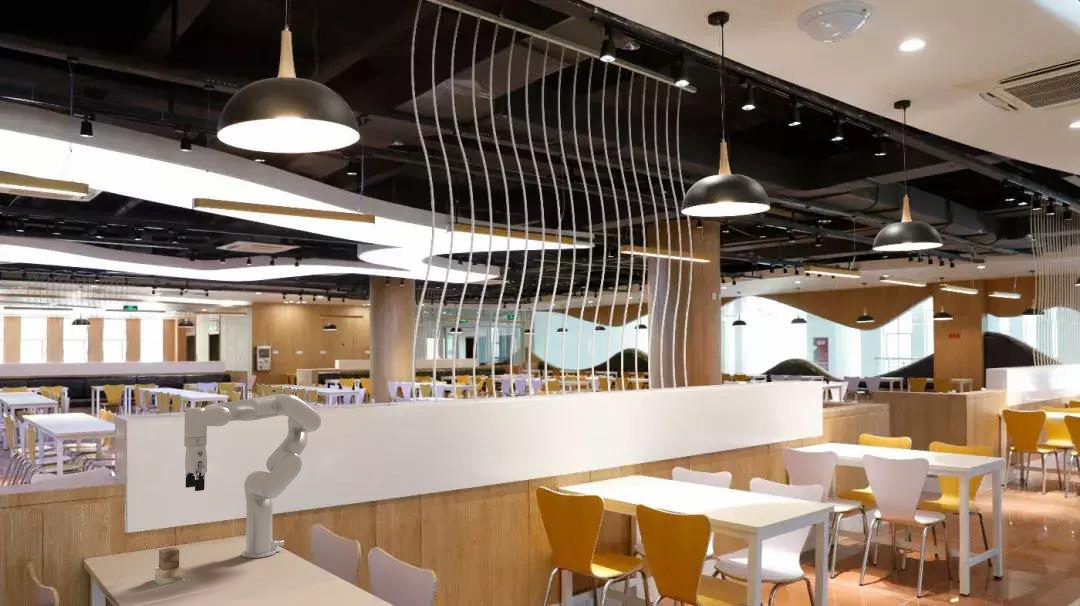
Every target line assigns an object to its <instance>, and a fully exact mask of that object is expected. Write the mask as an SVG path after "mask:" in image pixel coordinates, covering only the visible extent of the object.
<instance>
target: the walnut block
mask: <svg viewBox="0 0 1080 606" xmlns="http://www.w3.org/2000/svg"><path fill="white" fill-rule="evenodd" d="M179 565H180V548H177V547H175V546H174V547H169V548H168V547H167V548H162V549H159V550H158V567H159V568H160V569H162V570H163V571H164V570H169V569H175V568H179Z"/></svg>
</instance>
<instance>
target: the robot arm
mask: <svg viewBox="0 0 1080 606" xmlns="http://www.w3.org/2000/svg"><path fill="white" fill-rule="evenodd" d="M279 416H280V417H281V416H285V417H287V426H288V427H287V428H288V431H287V436H286V437H285V439H284V440H283V441H282V442H281V443H280V444H279V446H278V447H276V449H275V450H274V451H273V452H272V453H271V454H270V455H269V456H268V458H267V460H266V463H265V464H266V465H265V466H266V469H267V470H268V471H263V470H256V471H253V472H251V473H250V474H248V475H247V476H246V478H245V481H244V485H243V487H244V494H245V501H246V507H245V508H246V515H245V516H246V517H245V518H246V520H245V521H246V524H245V526H246V527H245V537H246V538H245V540H246V541H245V549H244V550H242V552H241V556H242V557H243V558H248V559H256V558H257V559H258V558H259V559H261V558H265V557H266V558H267V557H270V556H272V555H275V554H276V553H277V547H281V546H284V545H285V540H284V539H283V540H279V539H278V540H274V539H273V499H275V498H278V497H279V496H280V495H281V494H283V492H284V491H285V490H286V489H287V487H289V486H290V485H291V483H292V482H293V481H294V480H295V478H296V477H297V476H298V475H299V473H300V472H301V469H302V466H303V460H302V458H301V456H300V455H301V454H302V453H303V451H304V450H305V448H306V446H307V444H308V437H309V436H308V433H312V432H315V431H317V430H319V428H320V427H321V424H322V417H321V415H320V414H319V413H318V411H316V409H313V408H312V407H311V406H310V405H308V404H307V403H305V401H303V400H302V399H300V398H299V397H298V396H296V395H294V394H286V393H280V394H279V393H277V394H271V395H264V396H259V397H252V398H247V399H239V400H234V401H225V402H218V403H213V404H212V403H211V404H207V405H205V406H203V407H189V408H188V407H187V408H186V409H185V410H184V437H183V439H184V441H183V442H184V444H183V447H185V457H184V467H185V468H184V469H185V475H184V476H185V488H186V489H187V488H194V491H195V492H199V491H201V492H202V491H205V481H206V479H205V478H206V476H205V475H206V473H207V472H208V458H207V455H208V454H207V448H206V446H207V444H208V442H207V436H208V435H207V434H208V427H224V426H226V425H227V424H228V423H229V422H233V421H238V422H239V421H241V422H242V421H243V422H249V421H258V420H262V419H263V420H264V419H266V418H267V419H268V418H275V417H279Z"/></svg>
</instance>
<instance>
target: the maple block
mask: <svg viewBox="0 0 1080 606" xmlns="http://www.w3.org/2000/svg"><path fill="white" fill-rule="evenodd" d="M183 578H184V567H183V566H181V565H180V564H179V568H175V569H169V570H164V571H163V570H162V569H160V568H159V566H157V567H154V579H155V580H156V581H158V582H159V583H160V584H162V585H164V584H163V583H167V584H169V583H168V582H172V583H174V582H173V581H177V582H179V581H178V580H182V581H184V580H183Z"/></svg>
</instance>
